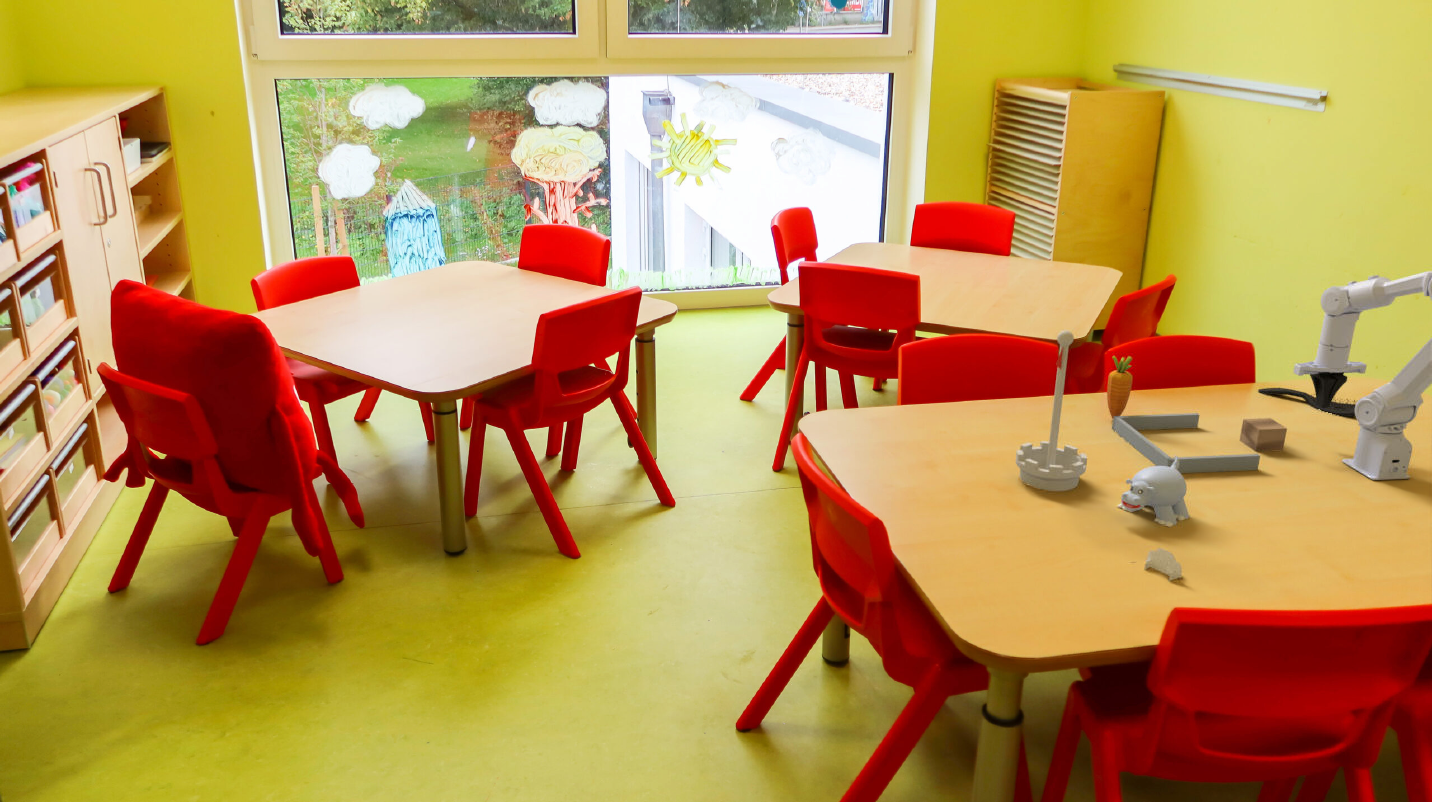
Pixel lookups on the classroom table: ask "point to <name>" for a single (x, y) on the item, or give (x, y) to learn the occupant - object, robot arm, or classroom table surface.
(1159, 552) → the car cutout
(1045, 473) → the flag stand
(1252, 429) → the walnut block
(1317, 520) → the classroom table surface
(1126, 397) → the carrot
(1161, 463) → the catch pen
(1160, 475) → the hippopotamus toy
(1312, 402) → the hairbrush
